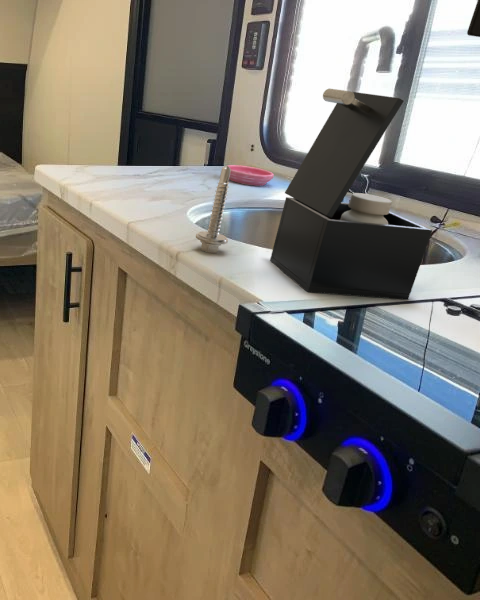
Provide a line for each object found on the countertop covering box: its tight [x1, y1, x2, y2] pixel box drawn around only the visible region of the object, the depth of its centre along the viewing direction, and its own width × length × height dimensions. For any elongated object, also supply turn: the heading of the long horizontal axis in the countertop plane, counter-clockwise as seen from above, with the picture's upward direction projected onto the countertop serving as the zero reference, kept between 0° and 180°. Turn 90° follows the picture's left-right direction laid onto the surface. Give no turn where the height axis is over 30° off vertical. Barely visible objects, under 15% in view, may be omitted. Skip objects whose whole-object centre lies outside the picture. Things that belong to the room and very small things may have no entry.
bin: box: [269, 196, 433, 301], centre depth 84 cm, size 15×13×10 cm
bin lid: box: [284, 88, 405, 218], centre depth 78 cm, size 15×13×5 cm
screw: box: [195, 165, 231, 254], centre depth 89 cm, size 13×5×5 cm
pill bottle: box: [340, 192, 393, 225], centre depth 83 cm, size 6×6×11 cm
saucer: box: [226, 164, 275, 187], centre depth 155 cm, size 12×12×3 cm
